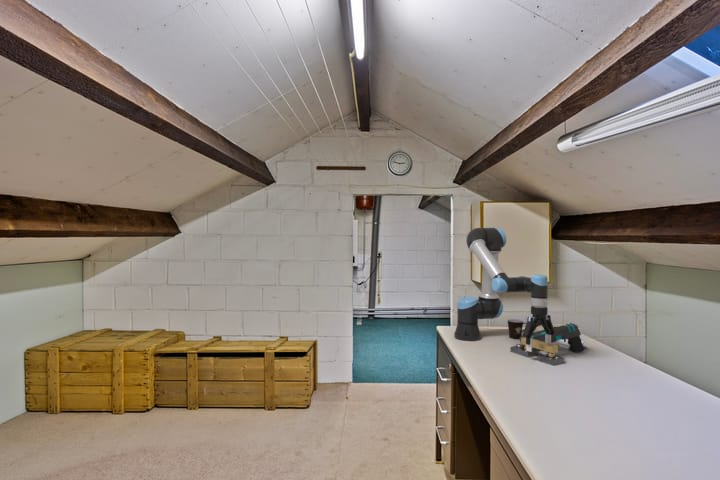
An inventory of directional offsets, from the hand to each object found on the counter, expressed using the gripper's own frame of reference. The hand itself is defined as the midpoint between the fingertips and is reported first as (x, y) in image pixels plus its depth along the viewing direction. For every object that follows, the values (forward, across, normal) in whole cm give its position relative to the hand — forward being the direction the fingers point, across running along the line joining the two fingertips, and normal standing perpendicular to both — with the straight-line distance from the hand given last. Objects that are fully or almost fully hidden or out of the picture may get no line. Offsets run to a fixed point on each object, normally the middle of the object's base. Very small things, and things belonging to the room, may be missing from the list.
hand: (538, 349), depth 201 cm
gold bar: (+4, 0, 0) cm, 4 cm away
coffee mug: (+4, +22, +32) cm, 39 cm away
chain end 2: (+4, 0, -7) cm, 8 cm away
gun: (+5, +17, +6) cm, 18 cm away
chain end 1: (+4, 0, +8) cm, 9 cm away
